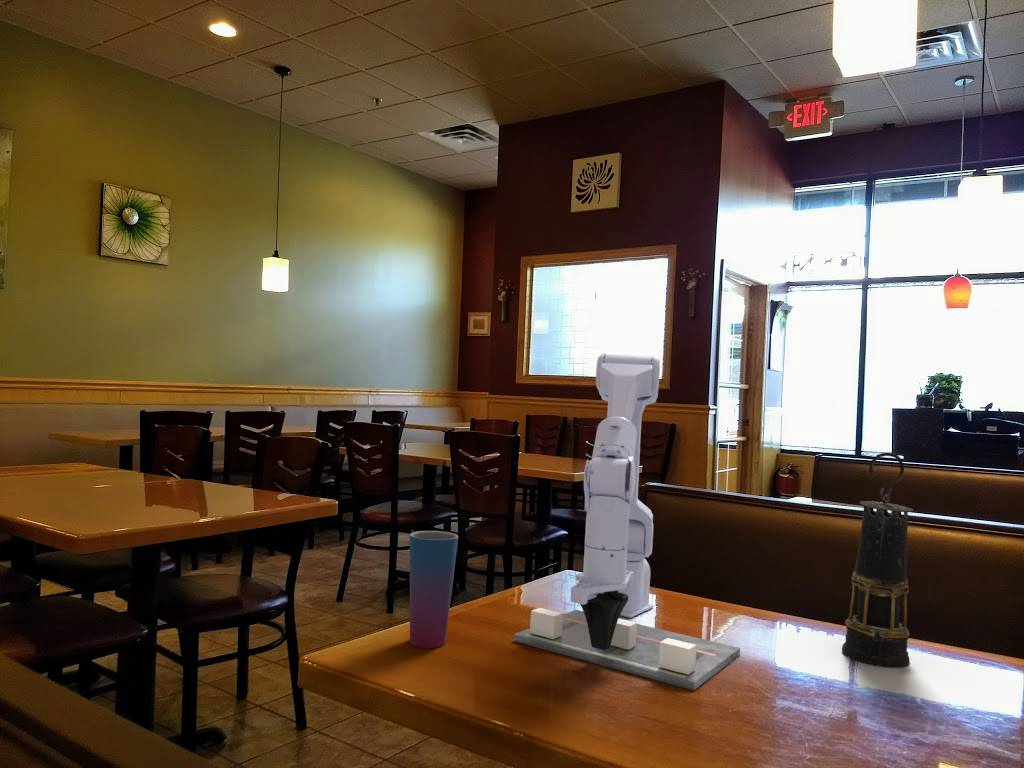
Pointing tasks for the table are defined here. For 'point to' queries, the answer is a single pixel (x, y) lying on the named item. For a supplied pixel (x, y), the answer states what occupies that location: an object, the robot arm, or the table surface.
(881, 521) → the lantern
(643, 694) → the table surface
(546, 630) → the breaker
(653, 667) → the panel
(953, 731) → the table surface
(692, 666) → the block
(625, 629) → the breaker mid
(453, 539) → the cup
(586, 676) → the table surface
